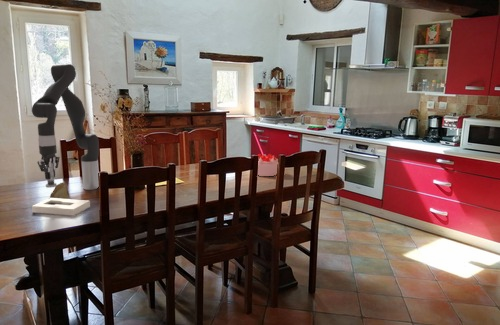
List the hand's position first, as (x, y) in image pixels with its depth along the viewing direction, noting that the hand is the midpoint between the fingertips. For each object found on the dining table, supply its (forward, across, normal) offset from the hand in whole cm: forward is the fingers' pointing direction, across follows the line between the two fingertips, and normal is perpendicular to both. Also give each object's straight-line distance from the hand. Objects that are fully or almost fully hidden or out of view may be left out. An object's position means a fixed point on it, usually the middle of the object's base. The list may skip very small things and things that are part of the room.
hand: (50, 178), depth 189 cm
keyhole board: (+16, 0, +5) cm, 17 cm away
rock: (+17, -15, -7) cm, 23 cm away
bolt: (+4, 0, 0) cm, 4 cm away
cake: (+17, -103, +96) cm, 142 cm away
